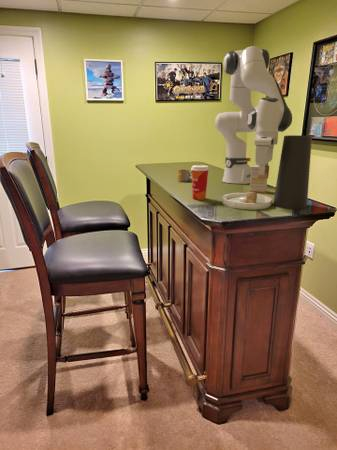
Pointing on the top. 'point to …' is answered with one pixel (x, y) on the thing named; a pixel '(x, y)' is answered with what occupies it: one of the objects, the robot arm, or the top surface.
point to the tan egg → (251, 197)
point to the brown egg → (265, 172)
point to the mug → (184, 175)
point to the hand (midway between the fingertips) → (263, 173)
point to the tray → (240, 201)
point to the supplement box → (257, 181)
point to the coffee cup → (199, 181)
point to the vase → (293, 173)
